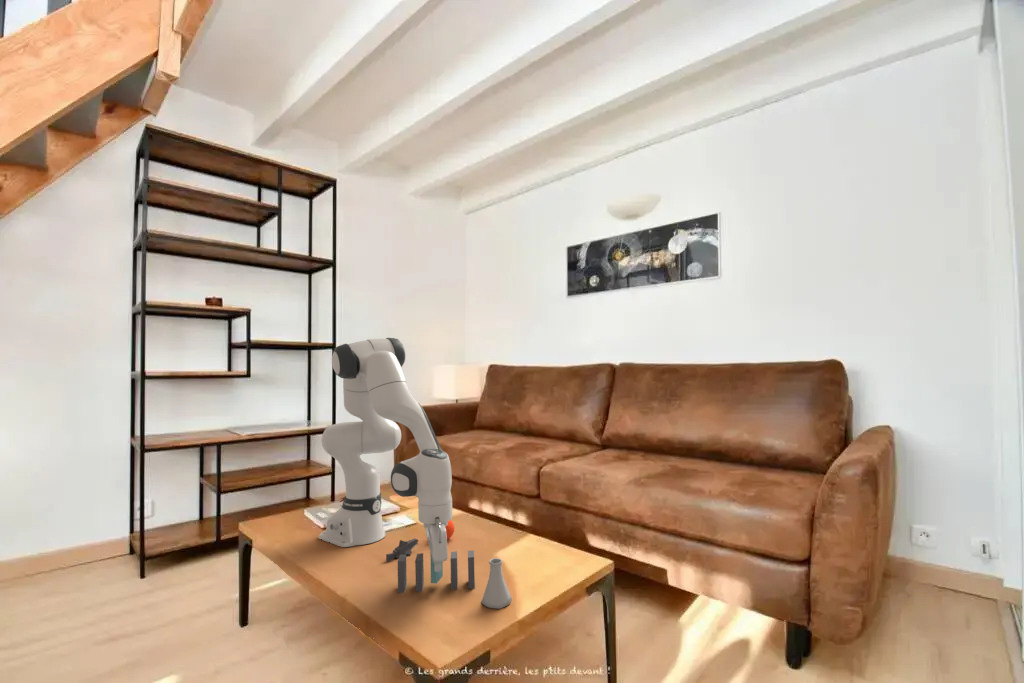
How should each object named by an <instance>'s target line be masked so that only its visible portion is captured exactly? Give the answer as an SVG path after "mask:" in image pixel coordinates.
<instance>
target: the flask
mask: <svg viewBox="0 0 1024 683" xmlns="http://www.w3.org/2000/svg"><path fill="white" fill-rule="evenodd" d="M502 563H503V559H501V558H499V557H498V558H496V557H493V558H490V559H489V560H488V564H489V565H490V568H489V570H490V571H489V576H488V580H487V583H486V587H485V590H484V593H483V596H482V599H481V602H480V604H482V605H483V606H485V607H487V608H489V609H502V608H504V607H507V606H509V605H510V603H511V601H512V599H513V598H512V596H511V593H510V590H509V588H508V585H507V582H506V580H505V577H504V574H503V569H502Z"/></svg>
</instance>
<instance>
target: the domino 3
mask: <svg viewBox="0 0 1024 683" xmlns="http://www.w3.org/2000/svg"><path fill="white" fill-rule="evenodd" d="M429 553H430V584H438V583H439V581H440V580H441V579H442V578H443V576H444V572H443V571H444V570H443V569H444V568H443V567H444V565H443V563H444V561H442V564H441V571H438V572H435V571H434V562H433V560H432V556H431V552H429Z"/></svg>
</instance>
